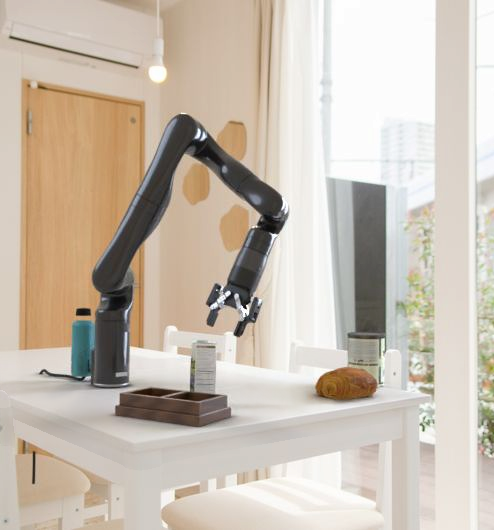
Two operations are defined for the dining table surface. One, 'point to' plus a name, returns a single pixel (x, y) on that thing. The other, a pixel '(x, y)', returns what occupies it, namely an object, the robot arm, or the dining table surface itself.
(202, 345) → the syrup box
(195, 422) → the shallow walnut tray
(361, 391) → the croissant
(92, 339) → the beverage bottle
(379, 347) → the coffee can
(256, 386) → the dining table surface
